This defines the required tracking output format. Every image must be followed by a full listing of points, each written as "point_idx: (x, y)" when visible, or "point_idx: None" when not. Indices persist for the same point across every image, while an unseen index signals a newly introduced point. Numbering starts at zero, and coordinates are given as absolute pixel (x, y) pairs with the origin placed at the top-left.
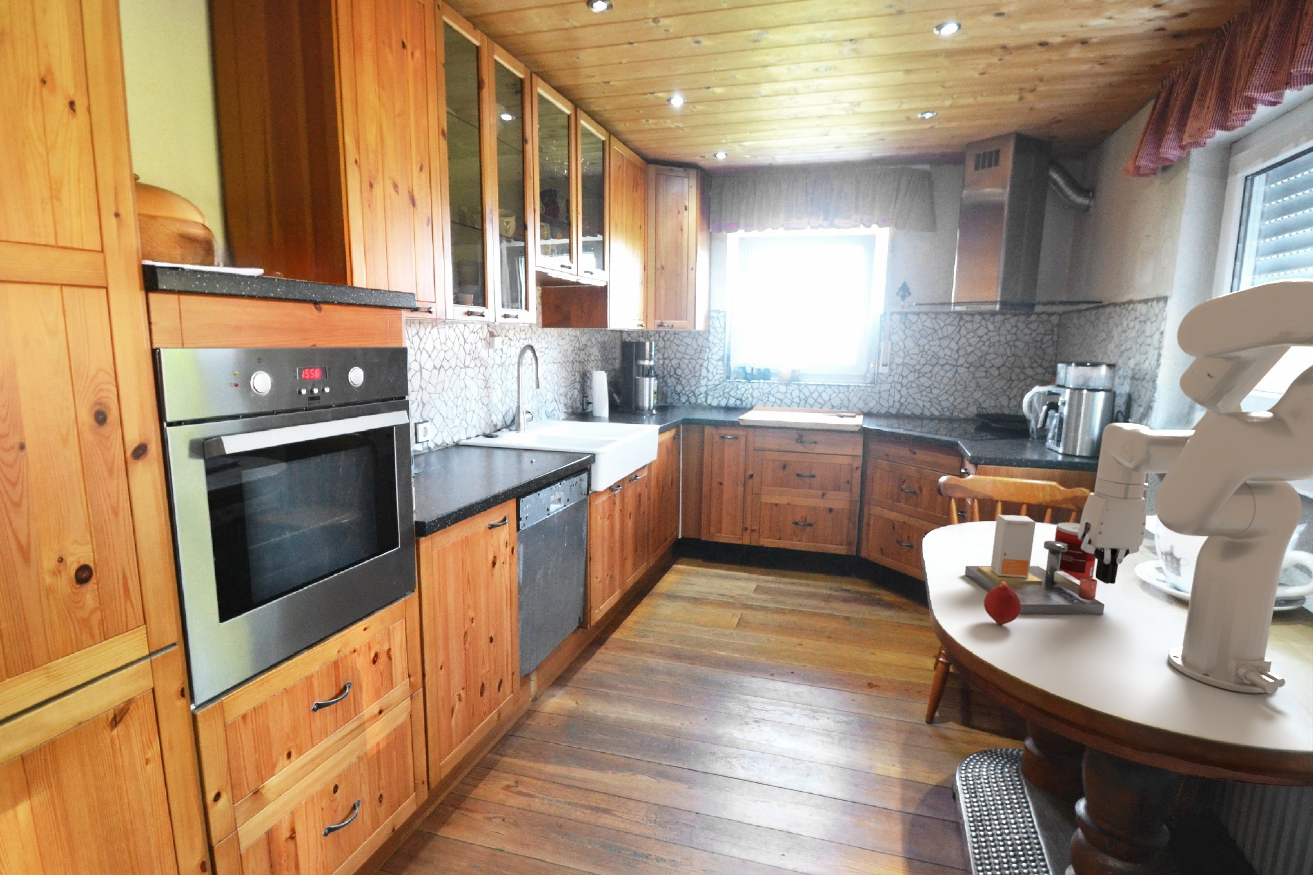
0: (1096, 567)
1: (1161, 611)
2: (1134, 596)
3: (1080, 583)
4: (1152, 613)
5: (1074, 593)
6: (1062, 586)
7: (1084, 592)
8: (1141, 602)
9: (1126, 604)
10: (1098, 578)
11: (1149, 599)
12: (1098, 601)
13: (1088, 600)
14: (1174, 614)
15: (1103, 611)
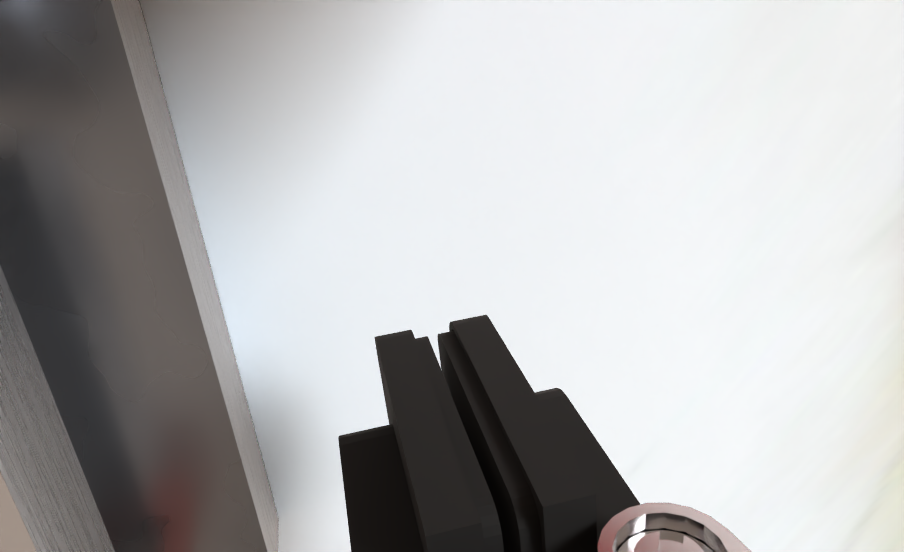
0: (347, 503)
1: (763, 357)
2: (799, 68)
3: None
4: (672, 407)
5: (82, 400)
6: (7, 201)
7: None
8: (752, 205)
9: (599, 273)
10: (383, 385)
11: (867, 124)
12: (253, 537)
13: (163, 538)
14: (807, 390)
15: (277, 537)
